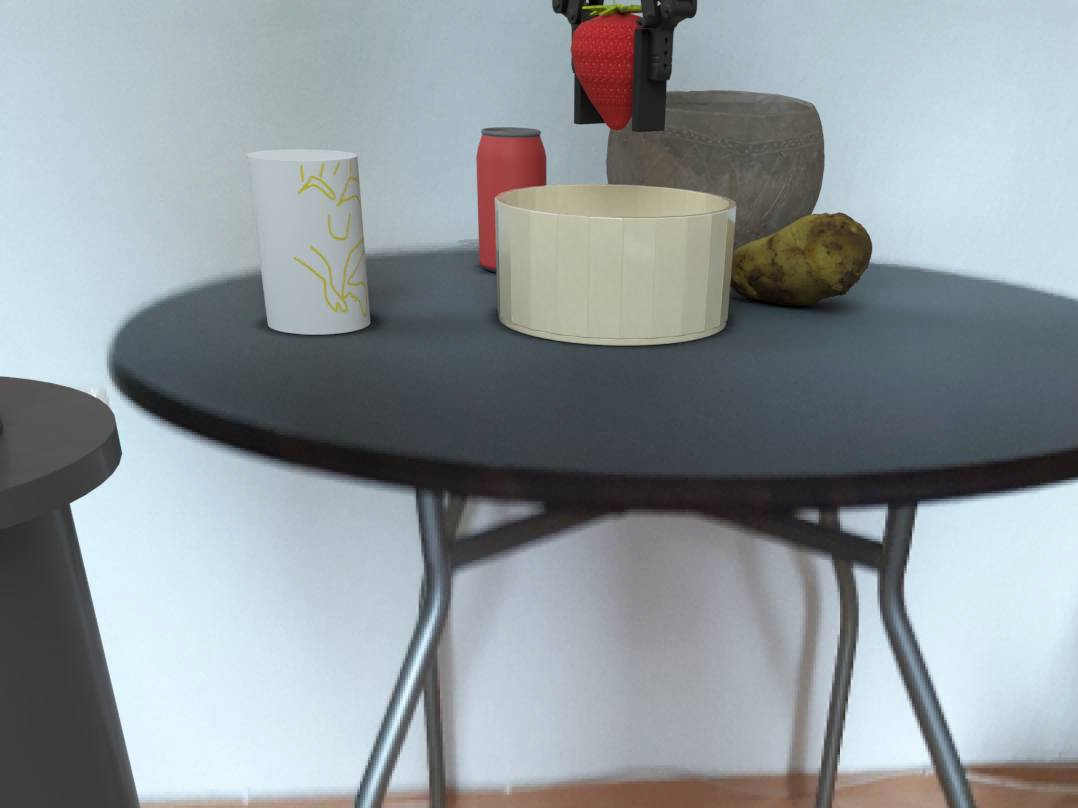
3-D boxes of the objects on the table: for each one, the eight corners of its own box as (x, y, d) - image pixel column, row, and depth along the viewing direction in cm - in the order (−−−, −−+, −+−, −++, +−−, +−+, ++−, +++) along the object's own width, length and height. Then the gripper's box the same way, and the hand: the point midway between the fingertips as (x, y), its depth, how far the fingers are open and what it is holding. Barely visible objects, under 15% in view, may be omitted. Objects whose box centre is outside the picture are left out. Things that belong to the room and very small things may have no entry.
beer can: (466, 267, 117) (461, 128, 111) (518, 260, 121) (516, 125, 114) (507, 278, 113) (505, 134, 107) (560, 270, 117) (561, 131, 110)
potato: (785, 290, 112) (794, 195, 107) (878, 318, 103) (893, 216, 98) (713, 298, 108) (720, 200, 103) (803, 328, 99) (815, 222, 94)
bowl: (755, 298, 108) (772, 108, 100) (564, 270, 117) (565, 94, 109) (843, 265, 123) (864, 97, 115) (668, 242, 132) (676, 85, 124)
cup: (322, 339, 92) (304, 163, 85) (246, 324, 95) (223, 154, 88) (391, 320, 97) (379, 155, 91) (316, 307, 101) (300, 146, 94)
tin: (599, 357, 89) (602, 225, 84) (453, 311, 101) (448, 193, 96) (774, 325, 100) (786, 206, 95) (623, 286, 112) (626, 178, 107)
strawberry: (676, 134, 91) (684, -25, 86) (581, 134, 89) (583, -28, 84) (650, 127, 96) (656, -24, 90) (560, 127, 94) (561, -27, 88)
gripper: (772, -279, 76) (740, 136, 89) (581, -246, 88) (577, 115, 100) (687, -297, 72) (667, 140, 84) (498, -260, 84) (506, 118, 96)
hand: (618, 126), depth 92 cm, fingers closed on strawberry, 6 cm apart
